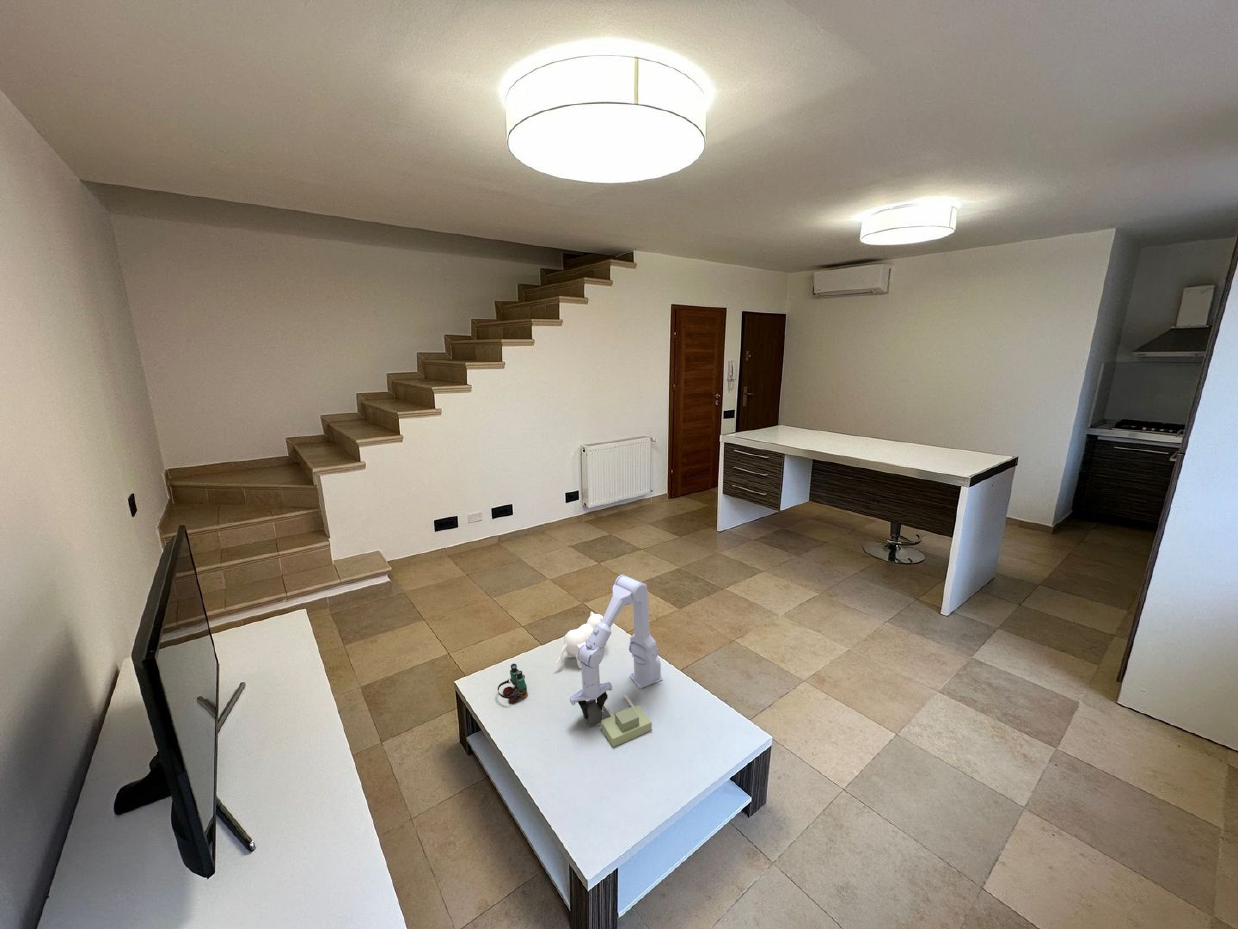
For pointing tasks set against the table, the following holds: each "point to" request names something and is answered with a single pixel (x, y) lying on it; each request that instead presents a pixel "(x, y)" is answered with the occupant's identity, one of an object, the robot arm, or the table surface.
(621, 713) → the green post base
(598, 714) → the grey overhanging lid block
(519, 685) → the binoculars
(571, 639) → the cat figurine
